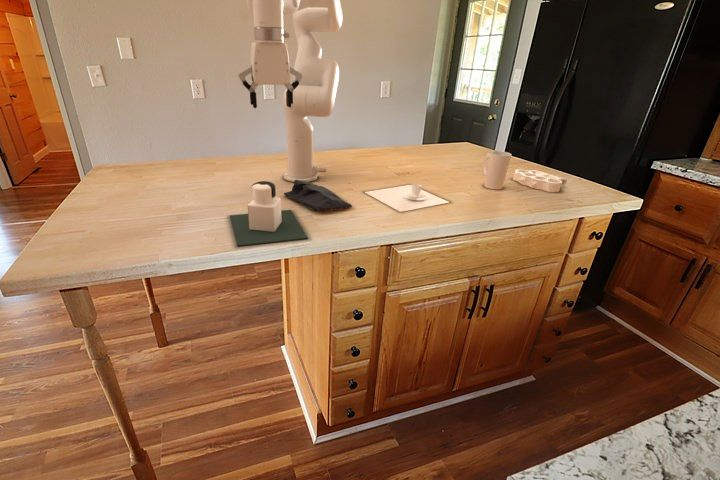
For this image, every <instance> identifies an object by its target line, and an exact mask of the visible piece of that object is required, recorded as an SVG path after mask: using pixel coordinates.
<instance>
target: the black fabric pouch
mask: <svg viewBox="0 0 720 480" xmlns="http://www.w3.org/2000/svg"><path fill="white" fill-rule="evenodd" d="M283 196H285V197H288V198H289V199H291V200H292V201H294V202H296V203H298V204H302V205H303V206H305V207H306V208H309V209H311V210H313V211H315V212H324V211H331V210H345V209H349V208H352V207H353V205H352V204H351V203H348V202H347V201H345V200H344V199H342V198H341V197H339V195H337V194H336V193H334V192H333V191H332V190H330V189H328V188H327V187H325V186H323V185H319V184H314V183H313V182H311V181H310V182H306V181H300V180H295V181H294V182H293V186H292V188H291V190H290V191H286V192H284V193H283Z"/></svg>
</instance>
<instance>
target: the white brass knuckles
mask: <svg viewBox="0 0 720 480" xmlns="http://www.w3.org/2000/svg"><path fill="white" fill-rule="evenodd" d="M512 180H513V181H515V182H518V183H519V184H520V185H523V186H526V187H529V188H531V189H536V190H541V191H545V192H547V193H559V192H560V190H561V187H563V186H565V185H566V184H567V183H568V180H567V179H566V178H565V177H560V176H556V175H554V174H552V173H547V172H543V171H540V170H539V169H538V170H537V169H536V170H528V169H515V171H514V173H513V176H512Z"/></svg>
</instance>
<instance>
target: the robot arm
mask: <svg viewBox="0 0 720 480" xmlns="http://www.w3.org/2000/svg"><path fill="white" fill-rule="evenodd" d="M341 3H342V2H341V0H245V4H246V6H247V9H248V11H249V12H250V13H251V14H252V15H253V16H252V17H253V34H254V42H253V41H252V42H251V47H250V66H249V67H248V68H246V69H244V70H243V71H241V72H239V73H238V75H237V76H238V78H239V80H240V82H241V84H242V86H243V87H245V89H247V91H249V101H250V105H251V106H252V108H254V109H257V108H258V101H257V100H258V99H257V92H256V89H257V88H258V86H259V85H261V86H262V85H263V86H265V85H267V86H268V85H272V86H273V85H274V86H275V85H276V86H277V85H280V86H281V85H284V86H285V90H284V92H283V94H282V96H283V97H282V102H283V109H284V114H285V121H286V157H287V159H286V161H287V171H286V172H284V174H283V179H284V180H286V181H288V182H291V183H294V181H295V180H300V181H306V182H310V183H311V182H314V181H316V180H317V179H318V173H326V172H327V167H326V166H320V165H318V166H316V165H314V135H315V134H314V133H315V132H314V126H313V124H312V123H311V121H310V119H309V118H308V117H316V118H327V117H330V116H331V115H332V114H333V112H334V109H335V103H336V98H337V91H338V86H339V80H340V68H339V64H338V62H337V61H336V60H335V59H333V58H329V57H322V55H323V48H322V45H321V44H320V42H319V40H318V39H317V38H316V37H315V36H314V35H313V34H312V33H336V32H338V31H340V29H341V28H342V25H343V20H344V19H343V18H344V17H343V7H342V4H341ZM284 16H292V26H293V30H294V35H295V40H296V43H297V51H296V52H297V53H296V57H295V62H294V66H293V68H292V67H291V66H290V58H289V51H288V45H287V43H286V42H285V40H286V39H289V38H290V32H289V31H287V30H285V28H284ZM248 75H250V79H251V81H252V82H251V83H249V82H248V81H247V79H246V77H247V76H248ZM291 75H292V79H293V82H292V83H290V81H291Z"/></svg>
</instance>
